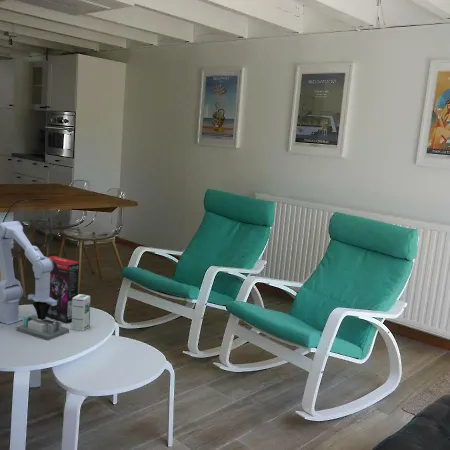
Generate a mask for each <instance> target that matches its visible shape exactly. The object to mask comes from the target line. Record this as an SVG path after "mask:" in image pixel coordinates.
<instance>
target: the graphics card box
mask: <svg viewBox="0 0 450 450" xmlns="http://www.w3.org/2000/svg"><path fill="white" fill-rule="evenodd" d="M46 257H47V256H46ZM47 258H50V259H51V260H52V262H53V270H52V271H51V272H50V297H51V298H52V299H54V300H57V305H55V306H52V305H51V306H50V308H49V310H48V312H47V315H46V317H48V318H51V319H54V320H57V321H60V322H62V323H70V322H71V323H72V298H73V297H75V296H77V295H79V276H80V272H79V271H80V262H79V261H76V260H75V261H74V260H72V259H67V258H63V257H60V256H56V255H53V256H51V255H50V256H48V257H47Z"/></svg>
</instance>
